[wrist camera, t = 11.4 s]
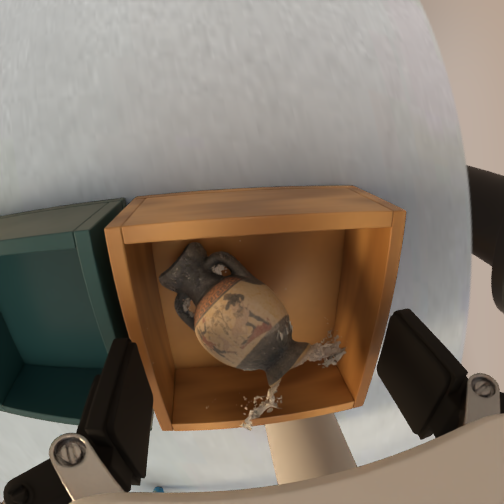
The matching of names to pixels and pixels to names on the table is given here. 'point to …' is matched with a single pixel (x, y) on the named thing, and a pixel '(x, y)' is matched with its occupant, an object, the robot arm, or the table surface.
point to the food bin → (276, 278)
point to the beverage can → (308, 448)
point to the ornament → (158, 490)
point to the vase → (240, 319)
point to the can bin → (56, 308)
